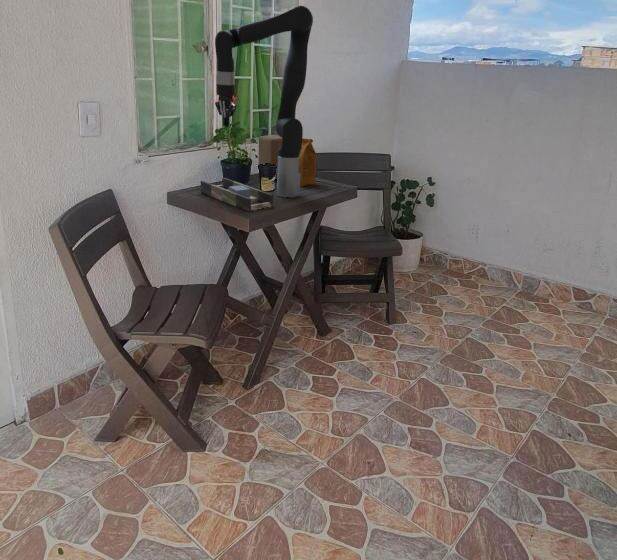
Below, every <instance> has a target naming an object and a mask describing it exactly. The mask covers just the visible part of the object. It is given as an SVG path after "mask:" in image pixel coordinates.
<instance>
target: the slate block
mask: <svg viewBox="0 0 617 560" xmlns="http://www.w3.org/2000/svg"><path fill="white" fill-rule="evenodd" d="M229 191H232V192H234V193H237V194H240V195H242V196H245V197H248V198H250V189H249V188H247V187H244V186H242V185H240V186H231V187H229Z"/></svg>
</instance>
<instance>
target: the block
mask: <svg viewBox="0 0 617 560" xmlns="http://www.w3.org/2000/svg"><path fill="white" fill-rule="evenodd" d="M281 146H282V137H280V136H279V135H275V134H269V135H261V136H259V137H258V162H257V163H258V164H264V163H270V164H276V165H277V172H278V149H279V148H281ZM276 179H277V174H276Z"/></svg>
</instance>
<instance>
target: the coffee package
mask: <svg viewBox="0 0 617 560" xmlns="http://www.w3.org/2000/svg"><path fill="white" fill-rule="evenodd" d="M313 142H314V140H313V139H312V138H305V137H304V138H303V137H302V147H301V151H300V154H299V173H300V187H305V186H311V185H312V186H313V185H315V183H316V174H317V173H316V172H317V171H316V167H317V153H316V151H315V148H314V146H313V144H312V143H313Z"/></svg>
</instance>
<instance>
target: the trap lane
mask: <svg viewBox="0 0 617 560" xmlns="http://www.w3.org/2000/svg"><path fill="white" fill-rule="evenodd" d="M221 179H222V180H221V181H222V182H221V184H219V185H218V184H217V185H215V184H212V183H210V182H207V181H205V180H200V193H202V194H204V195H207V196H209V197H212V198H214V199H216V200H219V201H221V202H224V203H225V204H229V205H231V206H234V207H236V208H239V209H242V210H244V211H246V210H247V212H252V210H253V211H258V210H257V209H259V210H262V208H264V209H267V208H266V207H269V208H272V207H271V206H273V207H274V194H272V193H269V192H266V191H264V190H260V189H258V188H255V187H252V186H250V185H247V184H244V183H242V182H238V181H235V180H232V179H229V178H227V177H222V178H221ZM240 185H242V186H244V187H247V188H249V189H250V198H248V197H245V196H242V195H240V194H237V193H234V192H232V191H229V187H231V186H240Z"/></svg>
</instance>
